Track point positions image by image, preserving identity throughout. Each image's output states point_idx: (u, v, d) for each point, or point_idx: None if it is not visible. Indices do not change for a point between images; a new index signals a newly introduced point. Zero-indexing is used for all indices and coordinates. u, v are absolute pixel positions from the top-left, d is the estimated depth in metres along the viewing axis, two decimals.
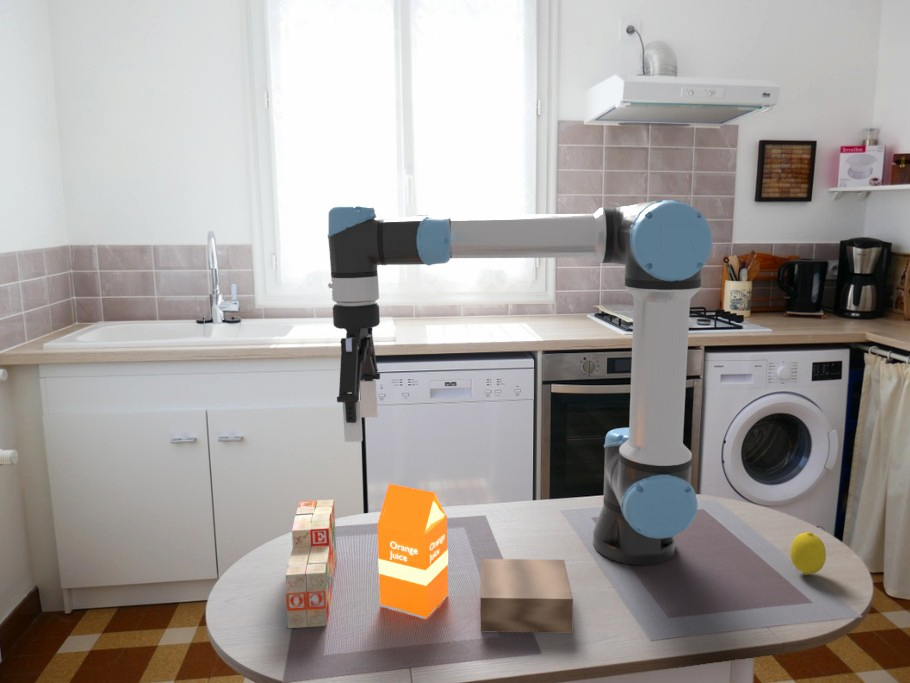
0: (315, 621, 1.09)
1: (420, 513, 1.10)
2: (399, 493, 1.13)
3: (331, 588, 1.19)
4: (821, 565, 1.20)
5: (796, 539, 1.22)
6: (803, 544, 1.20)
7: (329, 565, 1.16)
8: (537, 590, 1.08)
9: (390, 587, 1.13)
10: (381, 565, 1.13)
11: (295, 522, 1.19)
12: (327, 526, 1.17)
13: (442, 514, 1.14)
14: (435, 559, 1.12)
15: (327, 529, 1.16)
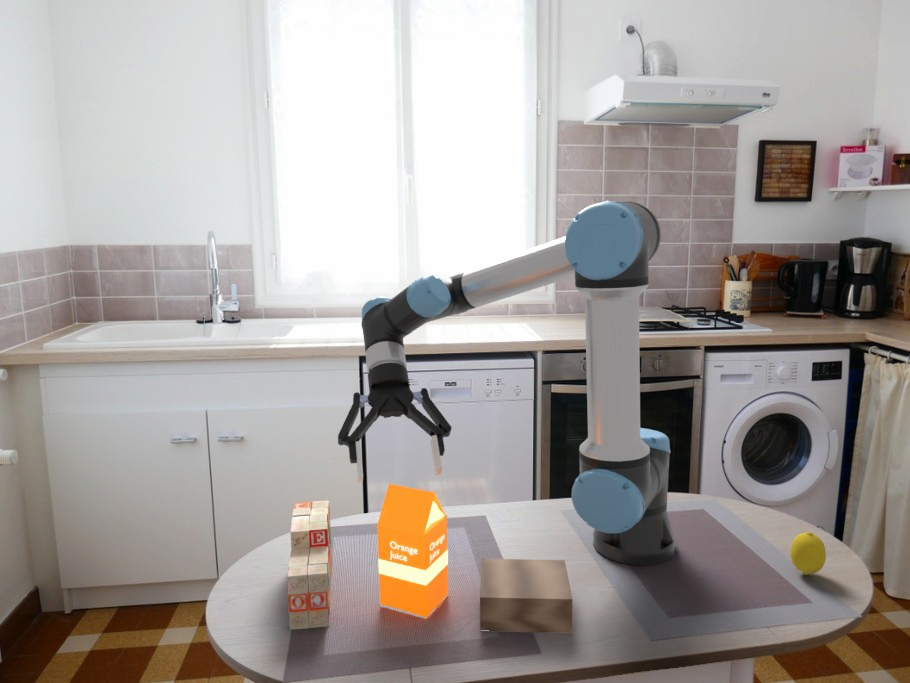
0: (317, 621, 1.09)
1: (420, 513, 1.10)
2: (399, 493, 1.13)
3: None
4: (821, 565, 1.20)
5: (796, 539, 1.22)
6: (803, 544, 1.20)
7: None
8: (536, 590, 1.08)
9: (390, 587, 1.13)
10: (381, 565, 1.13)
11: (293, 523, 1.18)
12: (326, 527, 1.17)
13: (442, 514, 1.14)
14: (435, 559, 1.12)
15: (326, 530, 1.16)
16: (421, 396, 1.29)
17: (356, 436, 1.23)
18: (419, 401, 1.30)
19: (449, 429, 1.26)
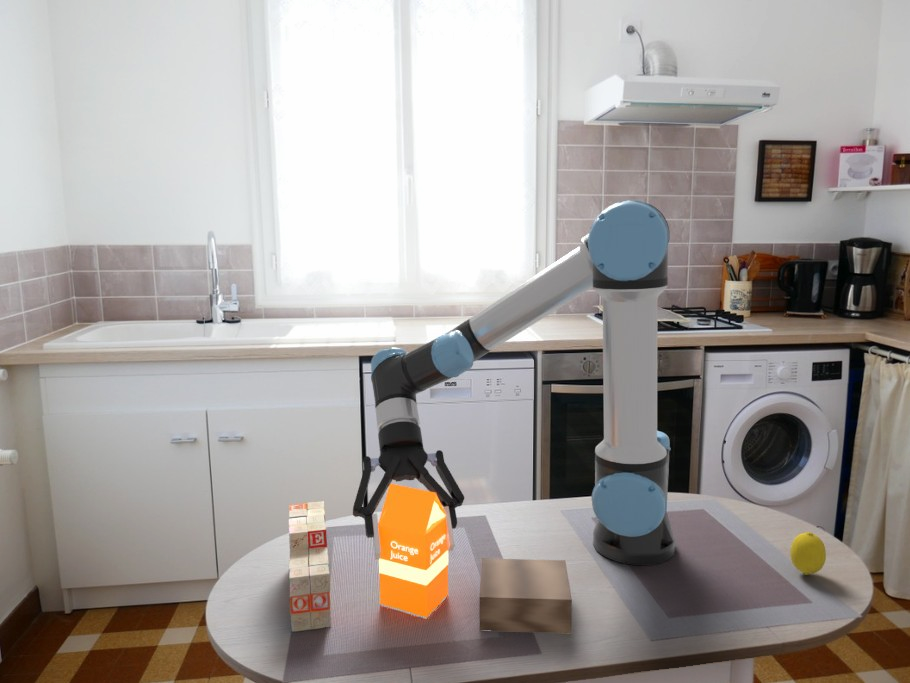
0: (319, 622, 1.09)
1: (421, 513, 1.10)
2: (400, 493, 1.13)
3: None
4: (821, 565, 1.20)
5: (796, 539, 1.22)
6: (803, 544, 1.20)
7: None
8: (536, 590, 1.08)
9: (390, 586, 1.13)
10: (381, 564, 1.13)
11: (290, 525, 1.18)
12: (324, 527, 1.16)
13: (443, 514, 1.14)
14: (436, 559, 1.12)
15: (325, 530, 1.16)
16: (435, 459, 1.20)
17: (372, 507, 1.13)
18: (433, 464, 1.20)
19: (462, 499, 1.16)
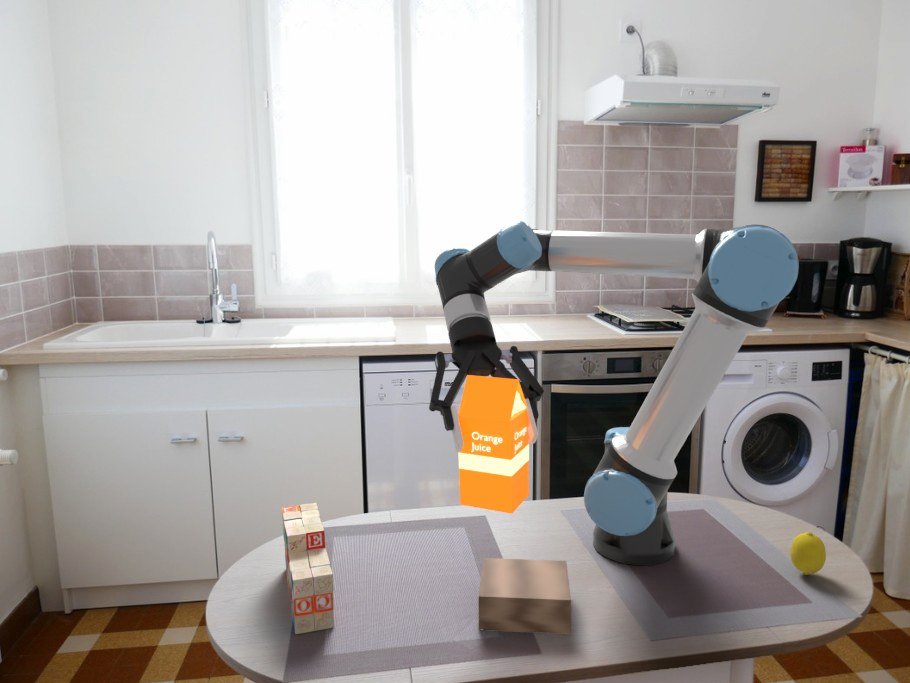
0: (322, 623, 1.08)
1: (504, 400, 1.05)
2: (479, 383, 1.08)
3: None
4: (821, 565, 1.20)
5: (796, 539, 1.22)
6: (803, 544, 1.20)
7: None
8: (535, 590, 1.08)
9: (471, 481, 1.08)
10: (461, 459, 1.08)
11: (287, 527, 1.17)
12: (322, 528, 1.16)
13: (524, 405, 1.09)
14: (519, 450, 1.07)
15: (323, 531, 1.15)
16: (510, 354, 1.15)
17: (450, 399, 1.08)
18: (508, 360, 1.15)
19: (541, 392, 1.11)
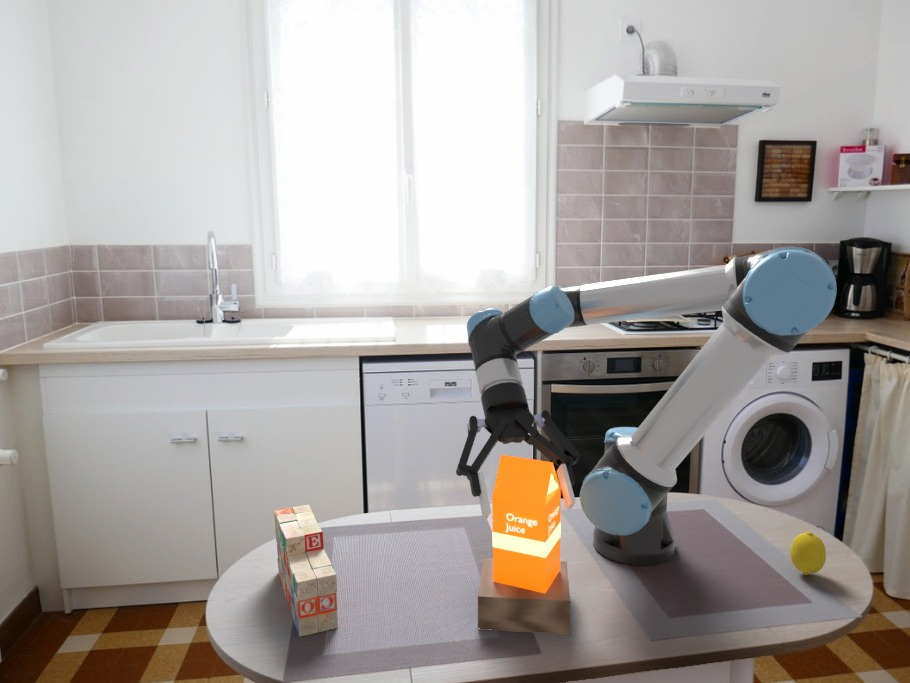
0: (326, 624, 1.08)
1: (539, 483, 1.06)
2: (513, 464, 1.09)
3: None
4: (821, 565, 1.20)
5: (796, 539, 1.22)
6: (803, 544, 1.20)
7: None
8: (535, 591, 1.08)
9: (505, 560, 1.10)
10: (495, 538, 1.10)
11: (284, 530, 1.16)
12: (320, 530, 1.16)
13: (556, 485, 1.11)
14: (552, 531, 1.09)
15: (321, 532, 1.15)
16: (543, 419, 1.16)
17: (478, 466, 1.09)
18: (540, 425, 1.16)
19: (578, 457, 1.13)
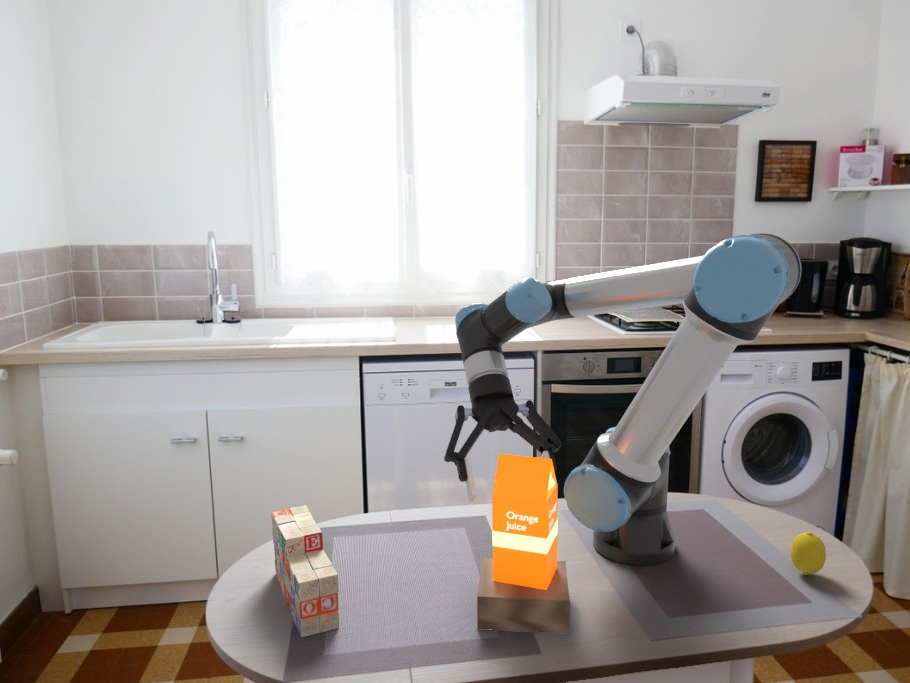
0: (328, 625, 1.08)
1: (539, 480, 1.08)
2: (512, 462, 1.10)
3: None
4: (821, 565, 1.20)
5: (796, 539, 1.22)
6: (803, 544, 1.20)
7: None
8: (534, 591, 1.08)
9: (505, 559, 1.10)
10: (495, 537, 1.10)
11: (283, 531, 1.15)
12: (319, 530, 1.15)
13: (554, 482, 1.12)
14: (551, 527, 1.10)
15: (321, 533, 1.15)
16: (527, 409, 1.22)
17: (465, 452, 1.15)
18: (524, 414, 1.23)
19: (560, 444, 1.19)
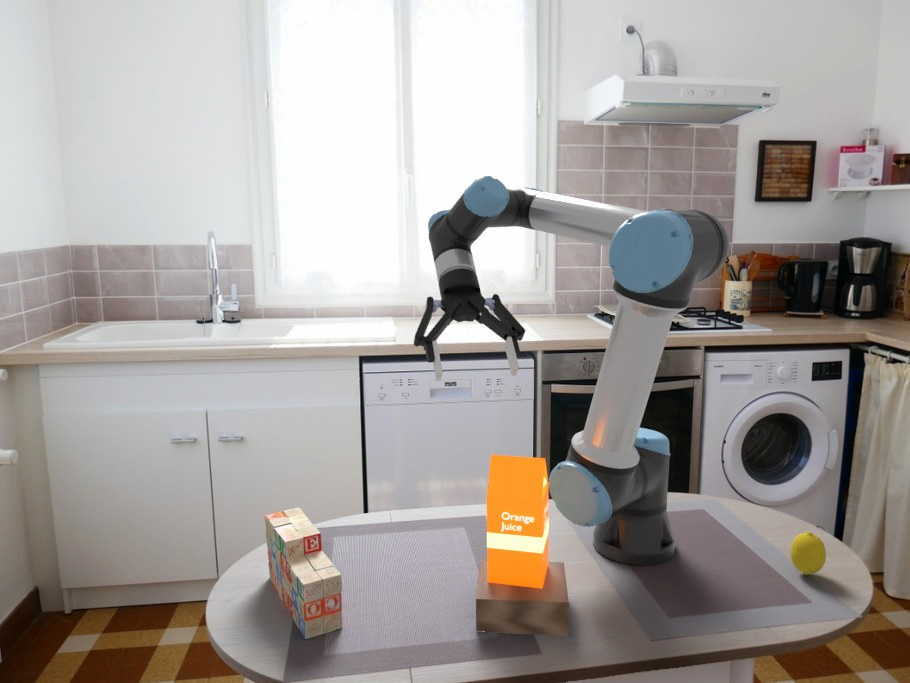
0: (331, 625, 1.08)
1: (533, 480, 1.08)
2: (505, 463, 1.10)
3: None
4: (821, 565, 1.20)
5: (796, 539, 1.22)
6: (803, 544, 1.20)
7: None
8: (533, 593, 1.08)
9: (500, 560, 1.10)
10: (490, 538, 1.10)
11: (280, 534, 1.14)
12: (318, 531, 1.15)
13: (545, 481, 1.12)
14: (545, 526, 1.10)
15: (319, 534, 1.15)
16: (493, 301, 1.30)
17: (433, 336, 1.23)
18: (491, 307, 1.30)
19: (523, 332, 1.27)
